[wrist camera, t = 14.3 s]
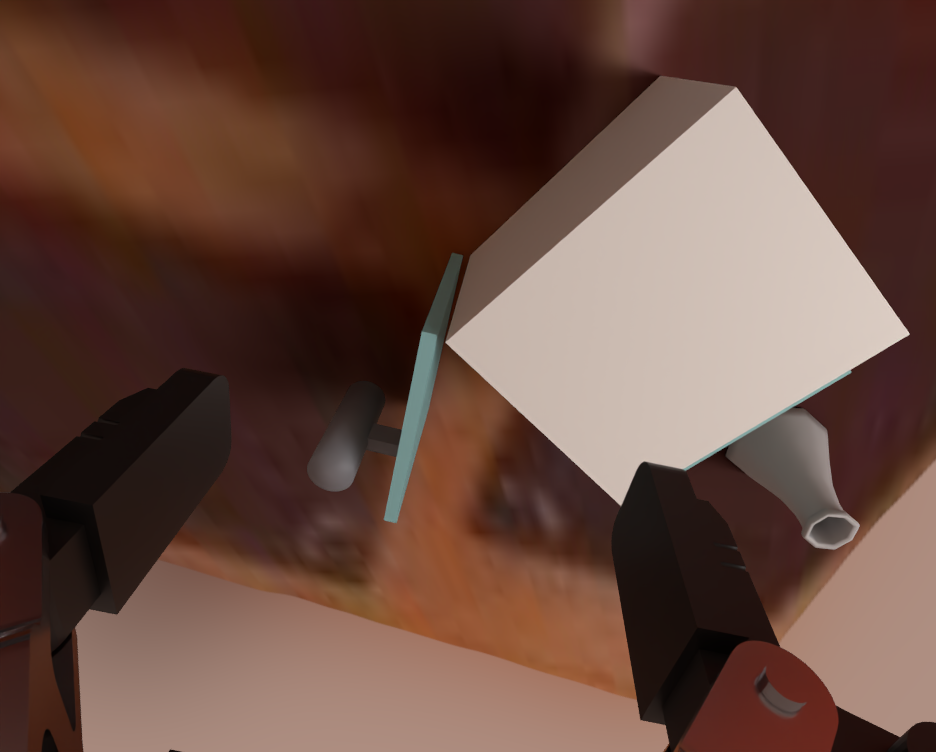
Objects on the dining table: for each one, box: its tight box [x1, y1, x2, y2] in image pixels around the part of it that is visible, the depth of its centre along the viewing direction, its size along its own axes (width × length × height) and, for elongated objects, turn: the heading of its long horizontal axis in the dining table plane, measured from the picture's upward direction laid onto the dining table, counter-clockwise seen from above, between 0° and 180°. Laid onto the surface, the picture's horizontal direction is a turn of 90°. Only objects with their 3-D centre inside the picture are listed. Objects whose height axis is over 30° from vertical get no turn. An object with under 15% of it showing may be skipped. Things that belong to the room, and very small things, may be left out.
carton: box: [445, 76, 910, 505], centre depth 33 cm, size 16×15×14 cm
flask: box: [726, 408, 860, 549], centre depth 41 cm, size 7×7×10 cm
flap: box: [307, 253, 463, 523], centre depth 37 cm, size 6×14×13 cm, turn 167°
